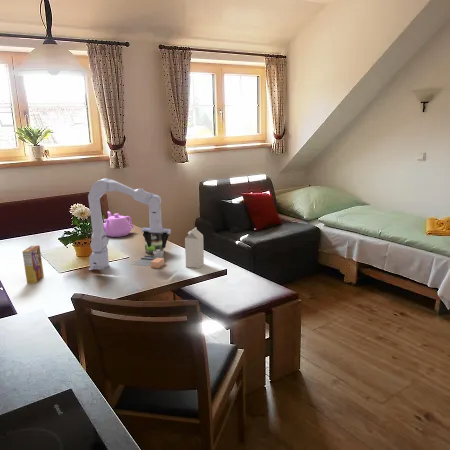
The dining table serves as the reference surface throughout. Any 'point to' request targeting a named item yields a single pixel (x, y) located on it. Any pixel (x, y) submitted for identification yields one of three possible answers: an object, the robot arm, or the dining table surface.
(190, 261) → the milk carton
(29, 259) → the candy box
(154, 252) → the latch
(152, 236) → the coffee can
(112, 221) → the teapot
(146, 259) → the board
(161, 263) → the cover
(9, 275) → the dining table surface
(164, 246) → the robot arm
